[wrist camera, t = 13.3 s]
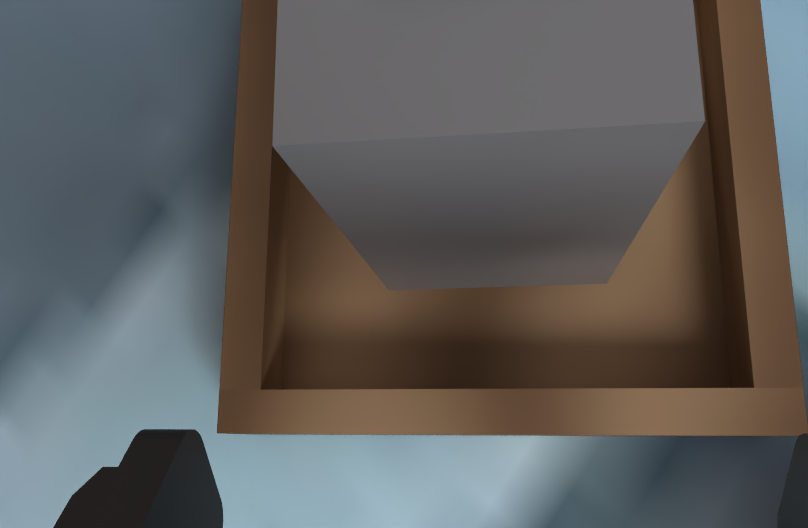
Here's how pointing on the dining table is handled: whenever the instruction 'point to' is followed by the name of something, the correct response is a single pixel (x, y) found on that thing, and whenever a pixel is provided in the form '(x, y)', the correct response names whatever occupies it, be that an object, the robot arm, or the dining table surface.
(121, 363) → the dining table surface
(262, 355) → the tray
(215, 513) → the robot arm
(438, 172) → the grey rectangular block
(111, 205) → the dining table surface
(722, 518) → the dining table surface
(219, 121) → the dining table surface
